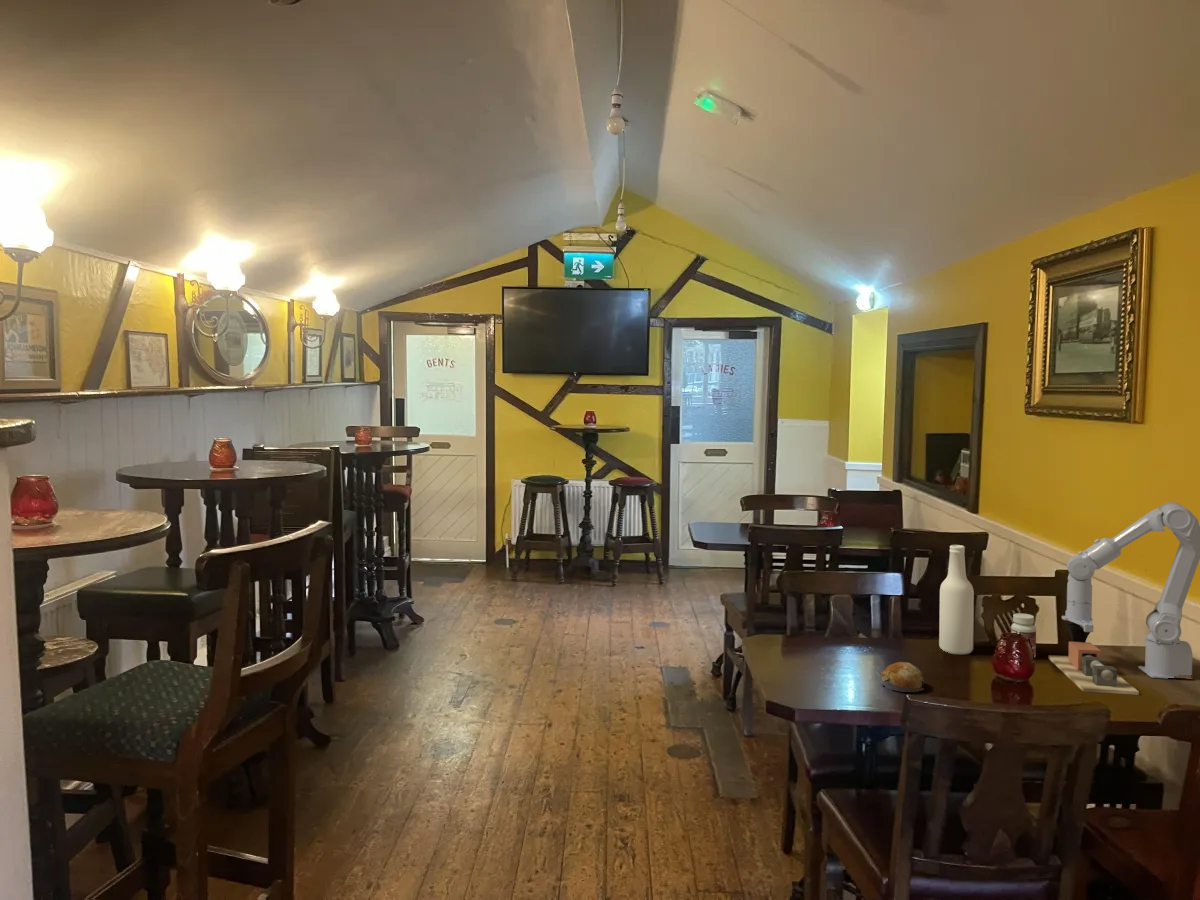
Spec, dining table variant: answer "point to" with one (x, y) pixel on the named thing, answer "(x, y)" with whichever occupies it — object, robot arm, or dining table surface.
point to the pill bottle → (1025, 628)
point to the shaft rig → (1094, 675)
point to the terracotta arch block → (1078, 649)
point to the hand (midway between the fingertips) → (1078, 651)
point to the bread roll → (903, 675)
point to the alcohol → (956, 606)
